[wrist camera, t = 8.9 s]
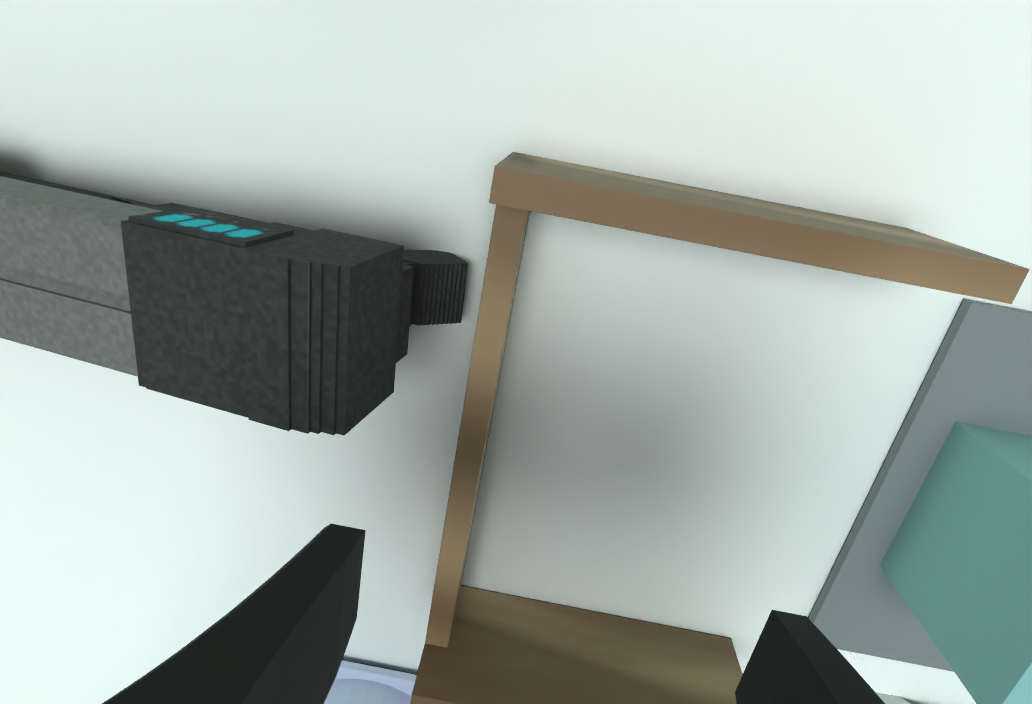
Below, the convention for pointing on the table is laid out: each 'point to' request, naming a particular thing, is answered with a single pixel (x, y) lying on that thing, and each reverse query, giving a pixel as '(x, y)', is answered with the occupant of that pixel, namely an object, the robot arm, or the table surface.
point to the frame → (459, 609)
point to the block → (973, 560)
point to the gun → (218, 302)
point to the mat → (939, 403)
